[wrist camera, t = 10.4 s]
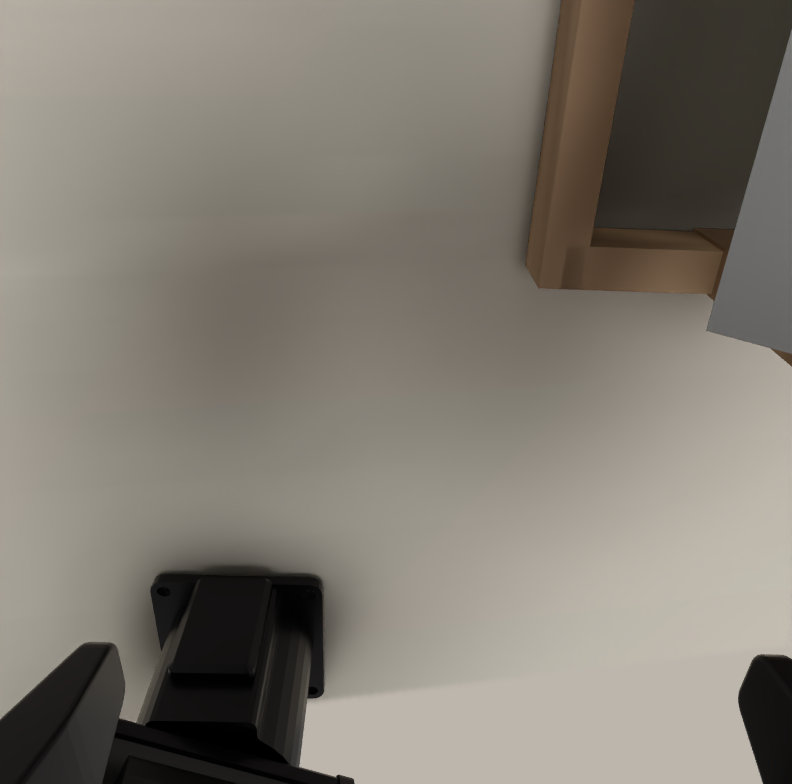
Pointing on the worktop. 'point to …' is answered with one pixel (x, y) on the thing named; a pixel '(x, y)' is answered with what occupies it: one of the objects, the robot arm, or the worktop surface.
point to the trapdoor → (763, 237)
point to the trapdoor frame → (583, 170)
